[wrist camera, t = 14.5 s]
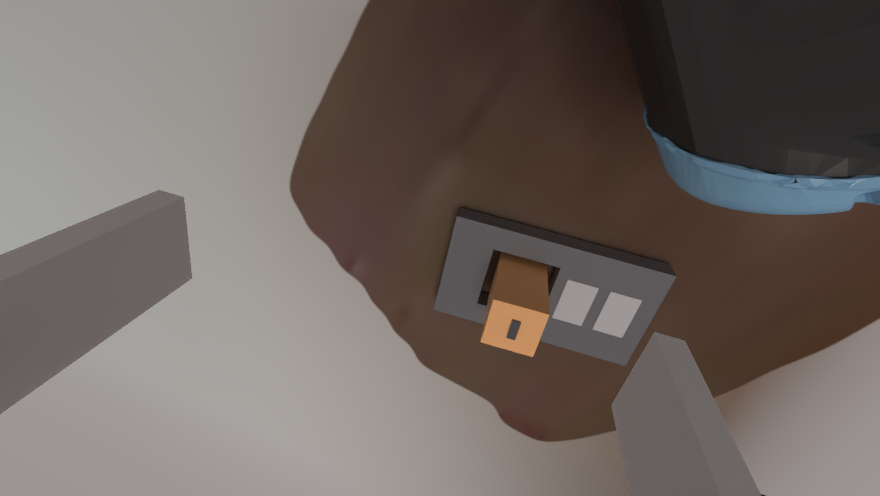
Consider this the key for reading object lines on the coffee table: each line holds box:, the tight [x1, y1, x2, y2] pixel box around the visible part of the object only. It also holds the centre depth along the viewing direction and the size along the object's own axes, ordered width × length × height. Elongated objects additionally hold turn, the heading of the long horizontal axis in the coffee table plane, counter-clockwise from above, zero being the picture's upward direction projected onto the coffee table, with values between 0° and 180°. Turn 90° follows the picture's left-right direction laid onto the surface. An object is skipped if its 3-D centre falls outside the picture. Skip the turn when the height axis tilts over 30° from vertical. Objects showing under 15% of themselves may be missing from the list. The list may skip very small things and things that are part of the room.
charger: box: [481, 252, 550, 357], centre depth 42 cm, size 5×5×10 cm
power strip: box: [434, 207, 677, 366], centre depth 45 cm, size 12×22×3 cm, turn 77°
